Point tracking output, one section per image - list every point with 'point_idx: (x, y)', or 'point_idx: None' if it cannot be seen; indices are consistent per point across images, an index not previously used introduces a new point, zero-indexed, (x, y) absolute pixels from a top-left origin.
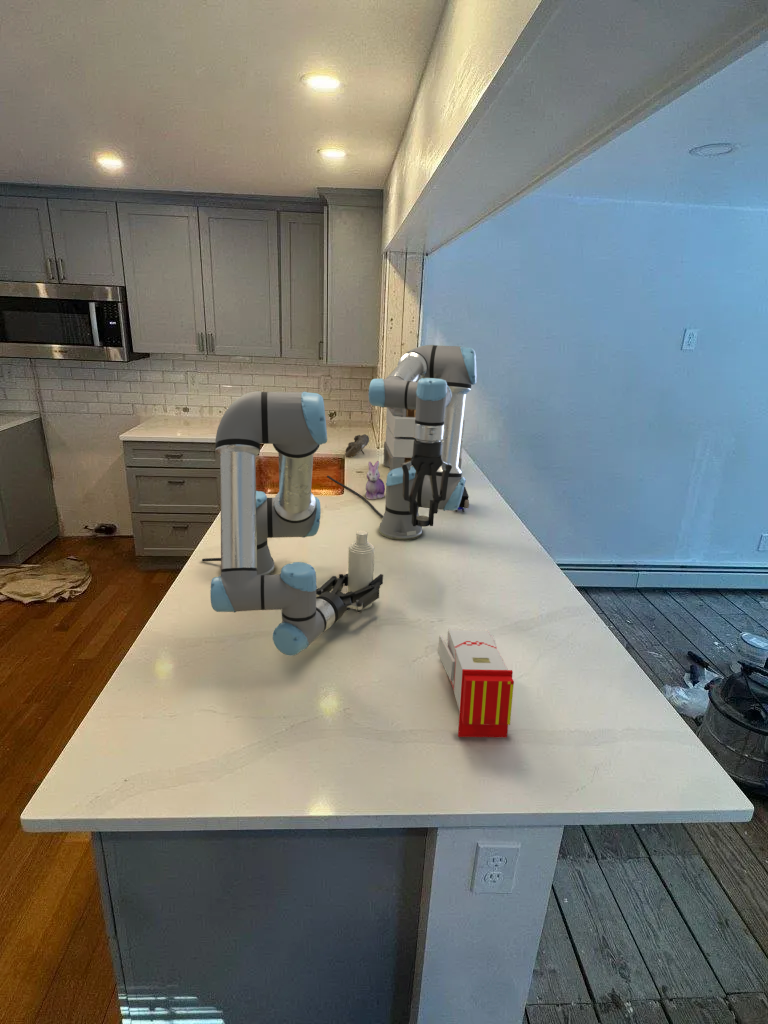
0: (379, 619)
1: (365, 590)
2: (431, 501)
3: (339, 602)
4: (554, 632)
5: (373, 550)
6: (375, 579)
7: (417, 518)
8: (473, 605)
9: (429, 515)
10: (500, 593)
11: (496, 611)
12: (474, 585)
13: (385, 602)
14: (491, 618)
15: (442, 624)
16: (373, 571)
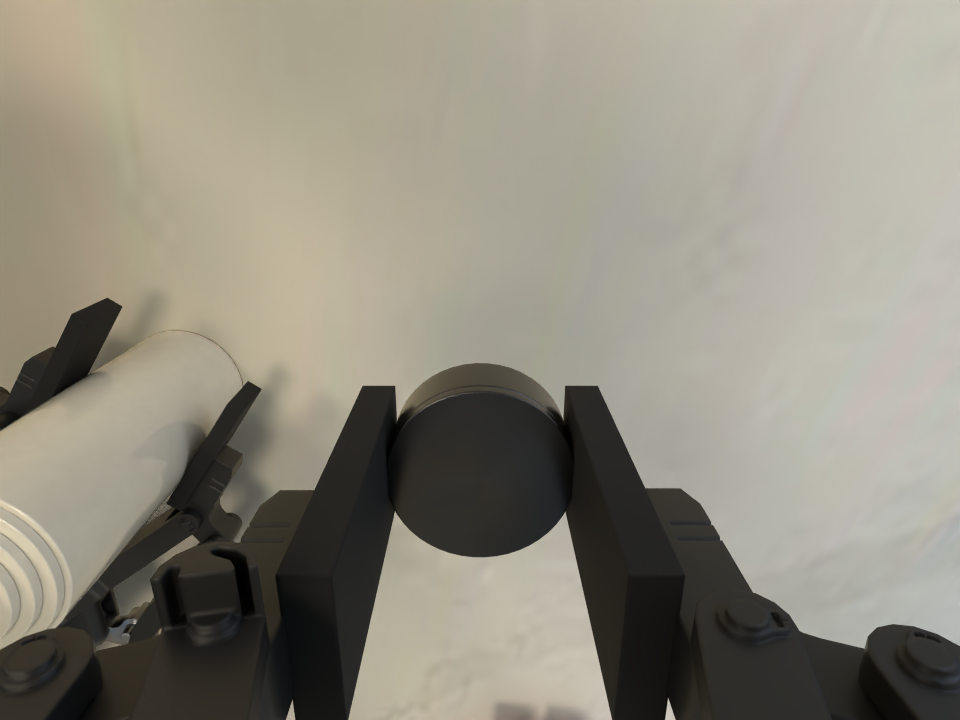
0: None
1: (155, 558)
2: (636, 637)
3: None
4: (925, 623)
5: (68, 606)
6: (199, 464)
7: (411, 485)
8: (707, 430)
9: (578, 468)
10: (895, 329)
11: (785, 481)
12: (804, 235)
13: (305, 383)
14: (737, 528)
15: (523, 555)
16: (163, 485)
